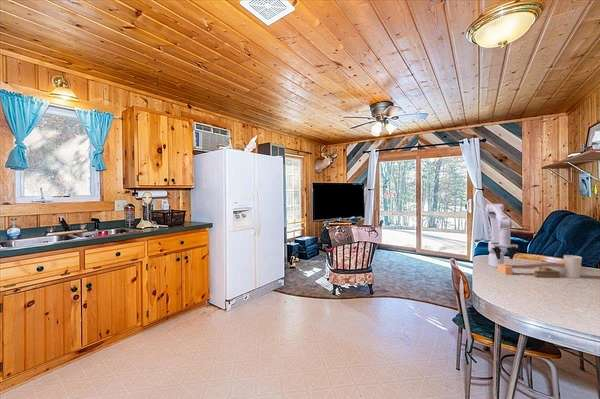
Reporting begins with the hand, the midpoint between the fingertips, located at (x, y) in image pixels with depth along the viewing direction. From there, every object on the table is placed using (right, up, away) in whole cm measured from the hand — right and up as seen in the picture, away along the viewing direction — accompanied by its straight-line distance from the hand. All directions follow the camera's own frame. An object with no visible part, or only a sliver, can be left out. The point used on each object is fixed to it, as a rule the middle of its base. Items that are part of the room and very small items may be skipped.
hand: (504, 259), depth 177 cm
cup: (+34, -9, -9) cm, 37 cm away
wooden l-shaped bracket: (+19, -9, -4) cm, 21 cm away
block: (0, -9, 0) cm, 9 cm away
